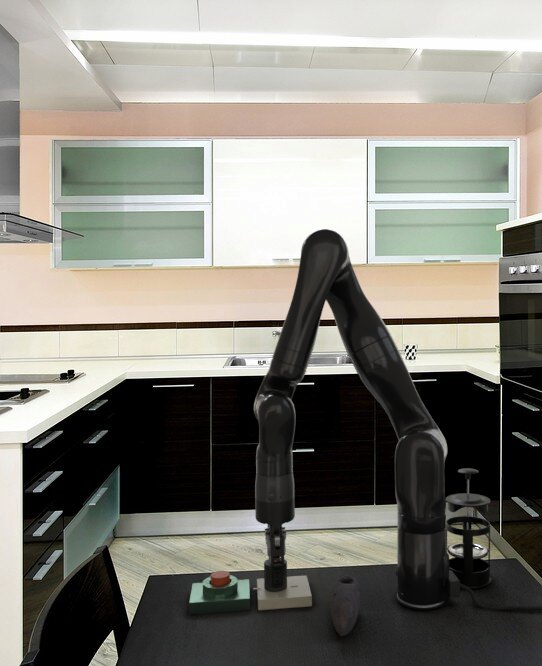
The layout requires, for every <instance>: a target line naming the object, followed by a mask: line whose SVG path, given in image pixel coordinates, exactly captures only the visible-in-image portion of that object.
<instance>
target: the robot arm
mask: <svg viewBox="0 0 542 666" xmlns="http://www.w3.org/2000/svg"><path fill="white" fill-rule="evenodd" d="M326 302H327V304H328V306H329V308H330V310H331V312H332V313H331V314H332V315H333V318H334V321H335V325H336V327H337V330H338V334H339V336H340V340H341V342H342V344H343V346H344V349H345V351H346V353H347V356H348V357H349V360H350V362H351V363H352V365H353V368H354V369H355V371H356V374H357V375H358V377H359V378H360V380H361V382H362V383H363V384H364V386H365V387H366V389H367V390H368V391H369V392H370V393H371V395H372V396H373V397H374V398H375V400H376V401H377V402H378V403H379V404H380V406H381V408H383V410H384V411H385V413H386V414H387V416H388V419H389V420H390V423H391V425H392V427H393V430H394V432H395V435H396V438H397V440H398V442H397V444H396V447H395V451H394V484H395V485H394V490H395V491H394V493H395V499H396V506H397V508H396V509H397V510H396V511H397V554H396V555H397V558H396V559H397V561H396V562H397V563H396V564H397V569H396V571H395V577H396V578H397V580H396V581H397V582H396V584H397V585H396V586H397V587H396V592H397V593H396V600H397V602H398V603H399V604H400V605H401V606H403V607H405V608H408V609H412V610H419V611H431V610H435V609H439V608H441V607H443V606H446V605H447V606H448V605H450V599H451V598H452V599H454V598H461V590H464V591H466V592H467V593H469V595H470V597H471V601H472V603H473V604H474V605H475V606H477V607H478V608H481V609H485V610H493V611H542V605H500V606H497V605H496V606H493V605H492V606H491V605H486V604H483V603H482V602H480V601H478V599H477V598H476V594H475V592H474V590H471V589H470V588H468V587H467V586H465V585H463V584H460V581H459V579H458V578H457V577H456V576H455V574H454V573H453V572H452V571H451V570H449V559H450V554H449V553H448V551H447V552H446V520H447V501H446V495H445V461H446V459H447V455H448V444H447V443H448V442H447V440H446V438H445V436H444V434H443V433H442V431H441V430H440V428H439V426H438V425H437V423H436V422H435V421H434V419H433V418H432V416H431V414H430V413H429V410H428V409H427V408H426V406H425V404H424V403H423V401H422V399H421V397H420V395H419V393H418V391H417V389H416V386H415V384H414V382H413V379H412V377H411V374H410V372H409V369H408V367H407V365H406V363H405V360H404V358H403V357H402V354H401V352H400V349H399V348H398V346H397V344H396V342H395V339H394V338H393V336H392V333H391V332H390V330H389V328H388V327H387V325H386V323H385V322H384V320H383V318H382V317H381V316H380V314H379V312H377V310H376V308H375V307H374V306H373V304H372V303H371V302H370V300H369V299H368V298H367V296H366V294H365V293H364V291H363V289H362V287H361V284H360V283H359V279H358V276H357V274H356V272H355V270H354V266H353V264H352V261H351V258H350V252H349V247H348V245H347V243H346V241H345V239H344V238H343V236H342V235H341V234H340V233H339V232H337V231H335V230H333V229H330V228H321V229H317V230H314V231H313V232H311V233H309V234H308V235H307V237H306V238H305V239H304V240H303V242H302V245H301V249H300V259H299V266H298V271H297V278H296V282H295V286H294V291H293V295H292V298H291V301H290V305H289V308H288V311H287V314H286V317H285V319H284V322H283V324H282V328H281V330H280V333H279V336H278V339H277V342H276V345H275V348H274V351H273V353H272V357H271V360H270V362H269V363H270V365H269V367H268V370H267V373H266V374H265V376H264V378H263V379H262V382H261V385H260V386H259V389H258V391H257V393H256V396H255V399H254V403H253V414H254V417H255V419H256V420H257V421H258V428H259V429H258V430H259V431H258V434H259V435H258V437H259V438H258V441H259V443H258V445H257V447H256V452H255V453H256V454H255V466H256V467H255V469H256V471H255V472H256V473H255V484H254V503H255V504H254V505H255V509H254V511H255V512H254V515H255V520H256V522H258V523H260V524H262V525H267V527H264V537H265V545H266V554H267V557H268V559H270V568H271V587H272V588H280V587H282V586H283V568H284V566H285V563H284V559H285V556H286V552H287V551H286V540H287V530H286V526H283V525H284V524H287V523H290V522H292V521H294V519H295V518H296V517H295V514H296V513H295V512H296V511H295V509H296V508H295V507H296V503H295V501H296V499H295V478H294V454H293V445H294V439H295V430H296V408H295V404H294V403H293V401H292V399H293V397H294V394H295V392H296V388H297V386H298V384H300V383H301V382H302V381H303V379H304V377H305V375H306V373H307V369H308V366H309V364H310V360H311V357H312V354H313V351H314V348H315V344H316V340H317V336H318V332H319V326H320V323H321V319H322V315H323V311H324V307H325V305H326ZM273 558H281V561H274V560H273ZM460 588H462V589H460Z"/></svg>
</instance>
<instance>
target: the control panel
mask: <svg viewBox="0 0 542 666" xmlns="http://www.w3.org/2000/svg"><path fill="white" fill-rule="evenodd" d="M252 589H253V590H254V591H255V590H256V596H257V610H258V611H267V610H278V609H280V610H281V609H291V608H306V607H313V595H312V591H311V588H310V584H309V580H308V575H305V574H304V575H293V576H291V575H290V576H287V588H286V589H285V590H283V591H279V592H270V591H267V590H265V589H264V577H263V578H261V577H260V578H256V587H253V588H252Z"/></svg>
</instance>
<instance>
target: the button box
mask: <svg viewBox="0 0 542 666" xmlns="http://www.w3.org/2000/svg"><path fill="white" fill-rule="evenodd" d="M250 589H251V588H250V579H248V578H247V579H238V577H236V576H234V575H231V574H230V583H229V584H227V585H223V586H214V585H211V576H208V577H207V578H204V580H202V582H192V584H191V590H190V595H189V601H188V609H189V610H188V612H189V613H188V614H189V615H199V614H212V613H224V612H225V613H226V612H237V611H250V610H251V591H250Z"/></svg>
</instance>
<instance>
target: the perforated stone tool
mask: <svg viewBox="0 0 542 666" xmlns="http://www.w3.org/2000/svg"><path fill="white" fill-rule="evenodd" d="M359 587H360V583H359V580H358V577H357V576H356V574H355V573H354V572H351V571H346V570H345V571H341V572H339V574H338V575H337V577H336V579H335V581H334V584H333V587H332V591H331V595H330V616H331V620H332V624H333V627H334V629H335V631H336V633H337V634H338V635H339V636H340V637H345V636H347V635H348V634H350V632H351V631H352V630H353V629H354V626H355V624H356V622H357V619H358V616H359V611H360V602H361V593H360V591H359V589H360V588H359Z"/></svg>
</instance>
